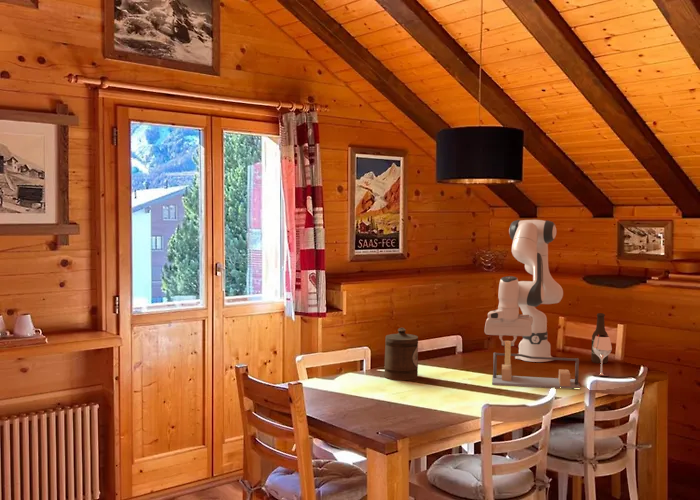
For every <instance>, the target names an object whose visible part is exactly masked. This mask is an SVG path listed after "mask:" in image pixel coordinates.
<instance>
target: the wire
mask: <svg viewBox="0 0 700 500" xmlns="http://www.w3.org/2000/svg"><path fill="white" fill-rule="evenodd" d="M496 353H497V356H504V357H505V352H502V353H501V352H496ZM515 356H522V357H526V358H530V359H549V360H552V361H570V362H571V361H574V362H575V361H576V359H575V358H572V357H571V358H570V357H569V358H568V357H553V356H552V357H532V356H527V355H523V354H518V353H511V357H515Z"/></svg>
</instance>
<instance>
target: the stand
mask: <svg viewBox="0 0 700 500" xmlns="http://www.w3.org/2000/svg"><path fill="white" fill-rule="evenodd" d="M497 353H498V352H493V358H492V359H493V362H492V363H493V368H492V369H493V370H492V371H493V372H492V373H493V374H492V376H491V377H492V380H491V384H492V385H491V386H506V387H507V386H508V387H527V388H541V389H542V388H546V389H552V388H551V387H555V388H554V389H559V388H560V387H561V388H580V389H581V386H580V383H579V376H580V375H579V373H580V369H579V366H580V359H579V358H578V357H577V358H575V359H576V361H574V362H575V365H574V370H575V371H574V378H571V373H570V370H569V369H558V377H555V378H554V377H541V376H539V377H538V376H524V375H522V376H521V375H512V364H510V365H505V364H501V374H498V375H497V361H498V360H497V359H498V355H497Z"/></svg>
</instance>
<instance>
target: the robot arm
mask: <svg viewBox="0 0 700 500" xmlns="http://www.w3.org/2000/svg"><path fill="white" fill-rule="evenodd" d="M556 227H557V226H556V224H555V222H554V221H551V220H548V219H547V220H542V219H524V220H523V219H522V220H520V219H517V220H514V221H512V222H511V223H510V225H509V229H508V234H509V238H510V239H511V240H512V244H511V254H512V256H513V257H514V259H515V260H517V262H518V263H519V262H520V264H521V263H522V264H524V270H525V272H527V273H528V274H530V275H532V281H531V280H520V281H519V279H518V277H516V276H513V275H508V276H503V277H501V278H500V280H499V284H498V295H497V296H498V297H497V299H498V306H497V309H495V310H490V311H489V312H488V313H487V318H486V320H485V325H484V334H485V335H489V336H499V337H498V338H499V340H500V342H501V346H505V341H506V340H503V337H504V336H508V337H509V336H510V337H511V336H512V337H513V340H510V341H511V347H514V346H515V342H516V341H517V338H518V337H522V339H521V340H520V342H519V343H518V353H517V354H523V355H527V356H532V357H553V356H552V355H551V343H550V342H549V341H548V335H549V334H548V330H547V329H548V327H547V325H548V324H547V323H548V318H547V315H546V313H544V312H543V311H541V310H539V309H537V307H538V306H540V305H552V304H553V305H554V304H558V303H560V302H561V300H562V299H563V297H564V290H563V288H562V287H563V286H561V285H560V284H559V282H557V281H556V280H555V279H554V278H553V276H552V275H551V273H550V268H549V244H550V243H552V242H553V241H554V240H555V239H556V236H557V228H556ZM520 311H521V313H522V314H520ZM514 359H515V360H516V359H517V360H522V361H524V362H533V363H535V362H536V363H544V362H546V363H547V362H551V361H553V360H549V359H530V358H526V357H522V356H514Z"/></svg>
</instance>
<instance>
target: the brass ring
mask: <svg viewBox="0 0 700 500" xmlns="http://www.w3.org/2000/svg"><path fill="white" fill-rule="evenodd" d="M504 341H505V345H504V353H505V356H504V365H511V357H512V356H511V354H512V352H511V351H512V348H511V347H512V346H511V341H512V340H504Z"/></svg>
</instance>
